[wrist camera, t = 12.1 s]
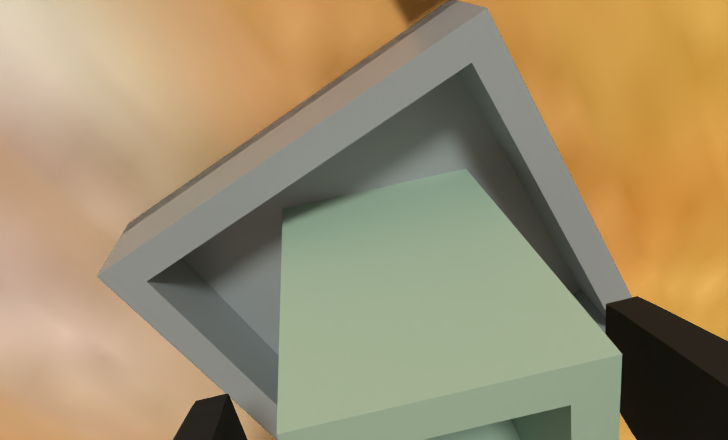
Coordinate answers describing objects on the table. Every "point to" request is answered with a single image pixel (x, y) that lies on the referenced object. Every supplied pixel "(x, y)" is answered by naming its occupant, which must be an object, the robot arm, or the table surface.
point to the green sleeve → (432, 325)
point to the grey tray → (347, 176)
